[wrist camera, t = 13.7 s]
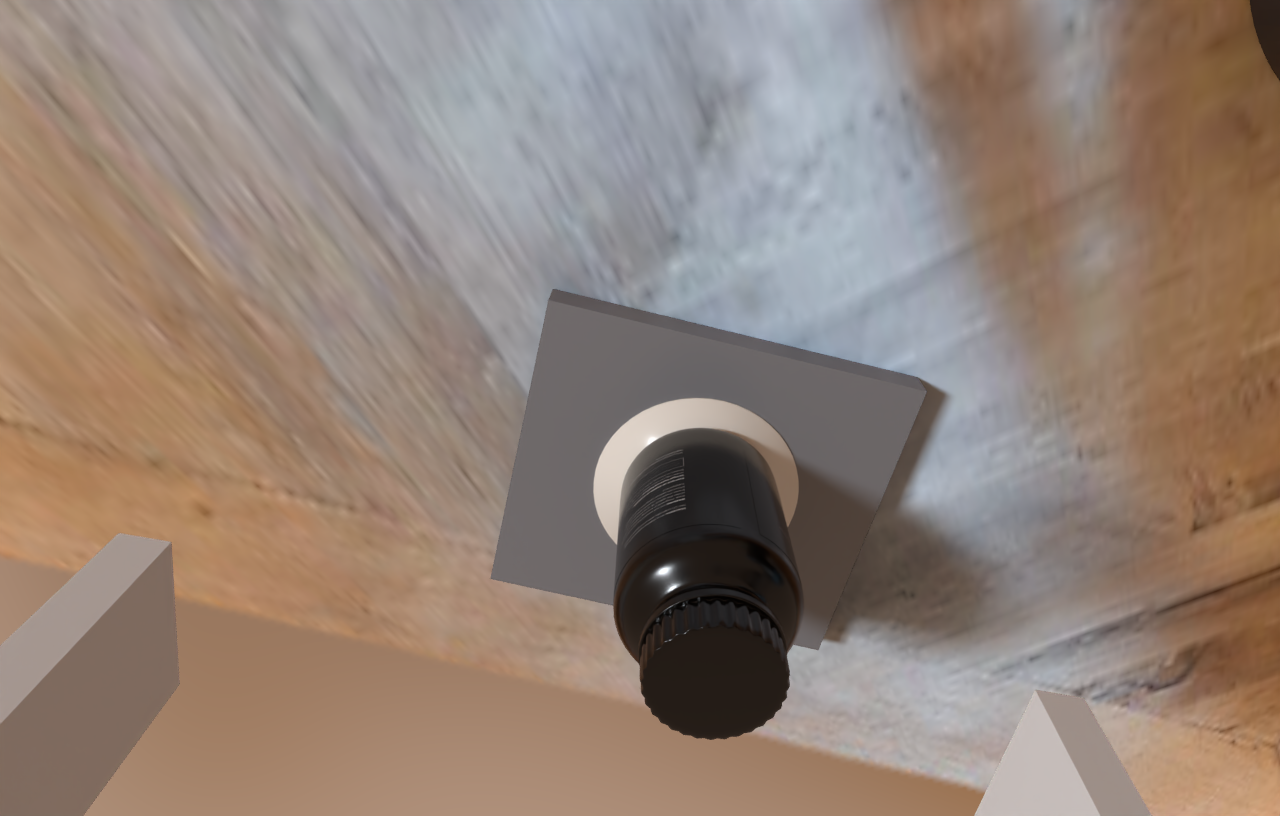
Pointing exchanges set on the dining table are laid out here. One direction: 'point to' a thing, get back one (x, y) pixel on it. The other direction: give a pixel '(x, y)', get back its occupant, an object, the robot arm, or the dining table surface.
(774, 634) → the supplement bottle
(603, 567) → the board
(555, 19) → the dining table surface
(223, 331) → the dining table surface
